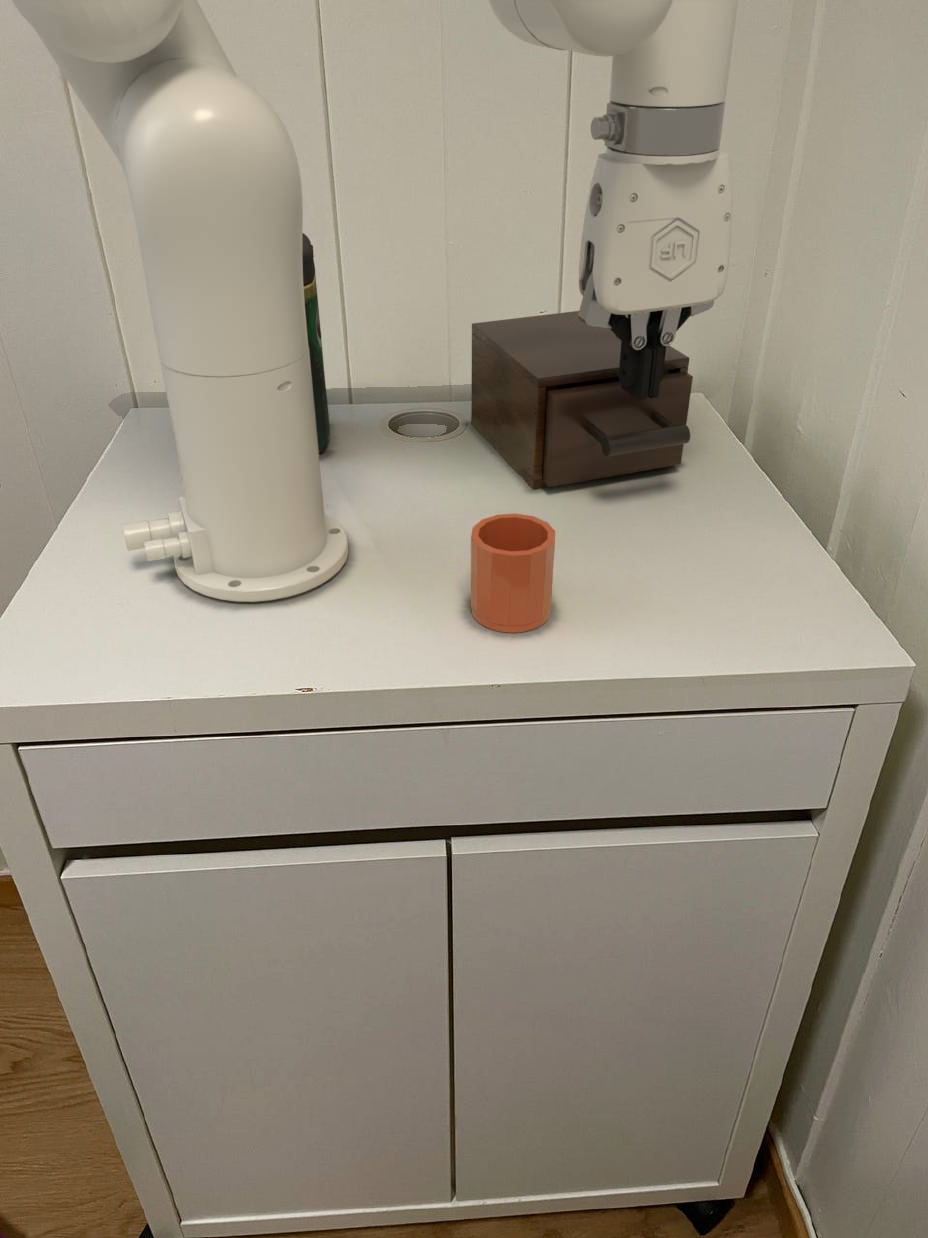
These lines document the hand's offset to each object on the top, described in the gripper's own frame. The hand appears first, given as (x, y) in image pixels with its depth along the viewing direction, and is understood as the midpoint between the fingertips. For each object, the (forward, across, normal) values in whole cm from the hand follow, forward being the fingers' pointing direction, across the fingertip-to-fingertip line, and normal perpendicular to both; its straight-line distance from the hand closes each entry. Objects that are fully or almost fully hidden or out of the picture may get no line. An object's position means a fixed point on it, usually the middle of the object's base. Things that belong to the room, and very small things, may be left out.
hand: (639, 392), depth 76 cm
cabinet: (+9, 0, +11) cm, 14 cm away
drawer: (+8, 0, +6) cm, 10 cm away
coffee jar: (+9, -24, +20) cm, 33 cm away
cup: (+9, -16, -12) cm, 22 cm away
